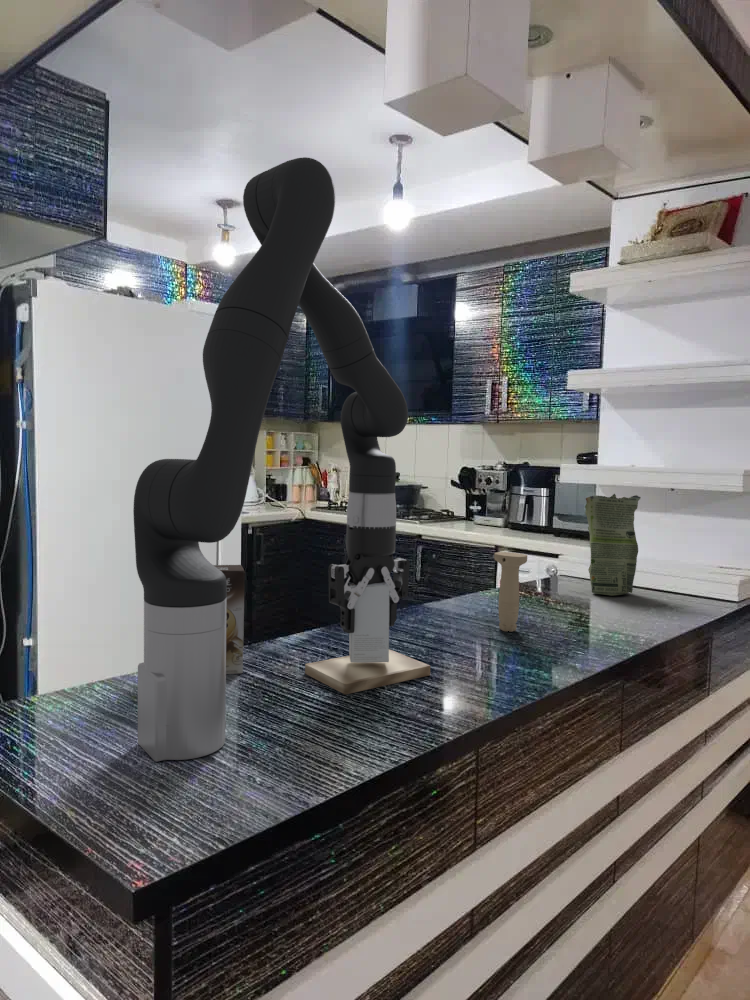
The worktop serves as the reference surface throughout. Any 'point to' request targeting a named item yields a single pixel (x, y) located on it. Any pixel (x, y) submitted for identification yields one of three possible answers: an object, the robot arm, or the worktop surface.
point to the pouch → (612, 543)
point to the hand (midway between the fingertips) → (368, 628)
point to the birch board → (366, 672)
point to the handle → (509, 588)
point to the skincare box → (371, 625)
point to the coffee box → (234, 617)
